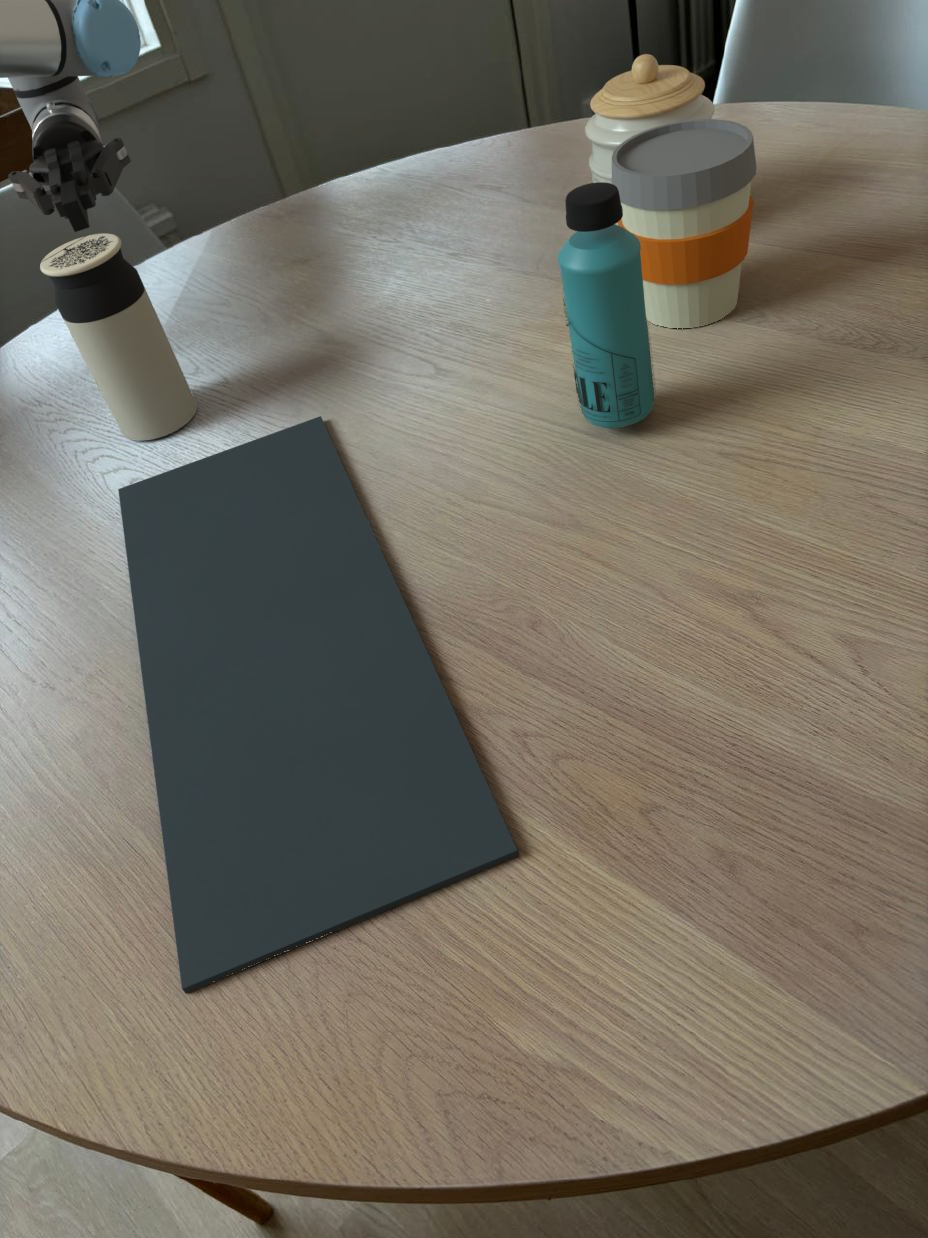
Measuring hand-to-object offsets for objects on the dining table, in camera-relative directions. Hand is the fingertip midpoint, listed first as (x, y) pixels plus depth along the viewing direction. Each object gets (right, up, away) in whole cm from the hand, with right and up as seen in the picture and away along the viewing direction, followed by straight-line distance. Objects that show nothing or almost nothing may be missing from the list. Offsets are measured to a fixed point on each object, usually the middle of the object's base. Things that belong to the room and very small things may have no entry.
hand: (75, 216), depth 98 cm
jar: (+59, +3, +13) cm, 60 cm away
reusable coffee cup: (+59, -9, 0) cm, 60 cm away
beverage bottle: (+51, -22, -11) cm, 57 cm away
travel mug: (+7, -19, +5) cm, 21 cm away
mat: (+23, -40, -22) cm, 51 cm away
